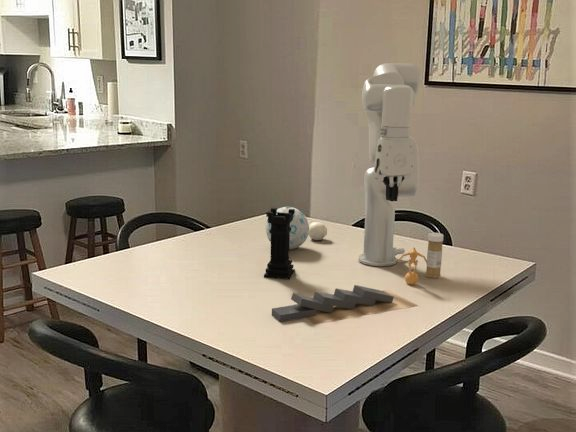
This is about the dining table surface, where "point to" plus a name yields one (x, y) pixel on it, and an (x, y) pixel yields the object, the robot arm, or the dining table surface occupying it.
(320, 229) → the cream round ball
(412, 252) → the figurine
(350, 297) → the domino
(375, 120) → the robot arm
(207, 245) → the dining table surface
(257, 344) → the dining table surface
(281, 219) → the chess piece
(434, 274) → the sprinkles bottle
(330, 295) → the domino
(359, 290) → the domino
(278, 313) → the domino
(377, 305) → the cork mat
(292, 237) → the puzzle ball
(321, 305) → the domino
